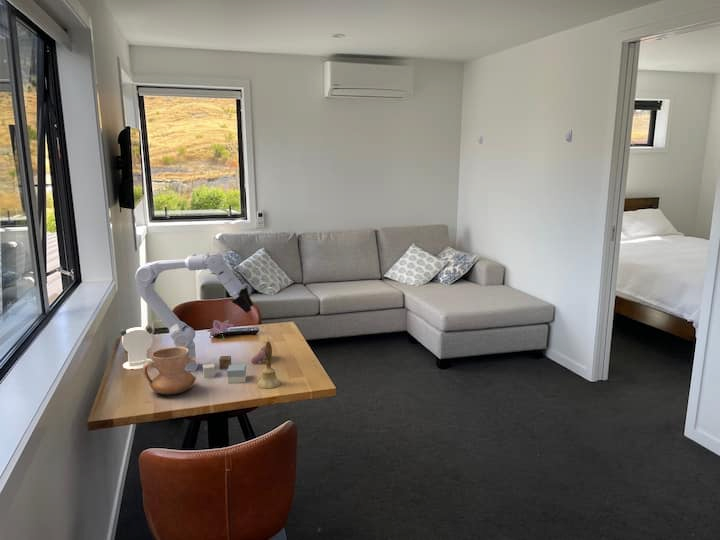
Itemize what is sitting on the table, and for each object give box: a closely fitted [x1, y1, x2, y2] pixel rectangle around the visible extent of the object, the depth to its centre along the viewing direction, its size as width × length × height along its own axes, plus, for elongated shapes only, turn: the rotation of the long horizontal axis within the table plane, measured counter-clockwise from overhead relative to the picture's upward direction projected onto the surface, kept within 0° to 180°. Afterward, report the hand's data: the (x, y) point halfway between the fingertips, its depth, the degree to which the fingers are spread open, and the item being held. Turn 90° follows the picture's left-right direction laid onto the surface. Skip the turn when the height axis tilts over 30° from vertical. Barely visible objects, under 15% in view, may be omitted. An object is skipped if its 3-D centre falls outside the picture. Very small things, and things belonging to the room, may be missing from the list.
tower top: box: [226, 363, 247, 378], centre depth 199 cm, size 6×6×2 cm
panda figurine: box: [120, 325, 154, 370], centre depth 214 cm, size 12×11×15 cm
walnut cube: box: [218, 355, 232, 370], centre depth 211 cm, size 4×4×4 cm
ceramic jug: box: [142, 346, 197, 396], centre depth 189 cm, size 18×14×14 cm
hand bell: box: [257, 341, 282, 389], centre depth 193 cm, size 8×8×16 cm
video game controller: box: [250, 345, 266, 365], centre depth 218 cm, size 10×5×7 cm, turn 169°
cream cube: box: [202, 363, 216, 379], centre depth 203 cm, size 4×4×4 cm
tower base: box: [227, 371, 247, 384], centre depth 199 cm, size 6×6×2 cm
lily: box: [206, 319, 234, 340], centre depth 246 cm, size 12×12×10 cm
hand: (250, 308), depth 208 cm, fingers open, 7 cm apart
